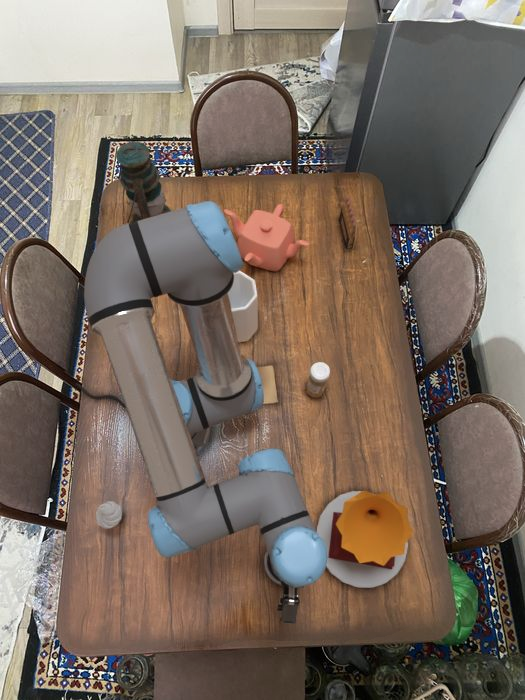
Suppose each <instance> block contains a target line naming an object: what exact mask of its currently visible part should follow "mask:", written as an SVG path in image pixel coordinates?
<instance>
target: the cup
mask: <svg viewBox="0 0 525 700" xmlns="http://www.w3.org/2000/svg"><path fill="white" fill-rule="evenodd" d="M233 274H234V282H233V285H232V288H231V289H230V291H229V292H228V295H229V300H230V305H231V310H232V314H233V319H234V324H235V329H236V334H237V339H238V343H244V342H249V341H250V339H252V337H253V336H254V335H255V333H256V332H257V331H258V329H259V317H258V316H259V314H258V311H259V310H258V304H259V303H258V289H257V284H256V280H255V279H254V278H252V277H251V276H250V275H248V274H246V273H244V272H242V271H241V270H238V272H237V273H233Z"/></svg>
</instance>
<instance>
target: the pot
mask: <svg viewBox="0 0 525 700" xmlns="http://www.w3.org/2000/svg"><path fill="white" fill-rule="evenodd" d="M284 209H285V206H284V204H282V203H278V204H277V205H276V206H275V208H274V210H273V212H272V213H271V212H267V211H265V210H261V209H255V210H254V211H252V213H251V214H250V216H249V217H248V219H247V221H246V222H245V223H244V222H243V221H241V220H240V218H239V216H238V215H237V214H236V213H235V212H234V211H232V210H231V209H228V208H225V209H223V212H224V213H225V214H226V215H227V216H228V217H229V219H230V220H231V223H232V228H233V232H234V234H235V235H236V236H237V238H238V239H237V242H236V245H237V247H238V250H239V252H240V255H241V258H242V260H243V261H245V262H247V263H248V264H249V265H251V266H253V267H257V268H261V269H264V270H266V271H269V272H270V271H271V272H279V271H280V270H281V269H282V268H283V266H284V265H285V263H286V262H287V260H288V259H291V258H293V257H295V256H297V254H298V253H299V251H300V249H301V247H304V246H306V247H307V246H309V245H310V242H309V241H307V240H304V239H298V240H296V236H295V235H296V234H295V231H294V228H293V226H292V223H290V221H288V220H287V219H284V218H283V215H284Z"/></svg>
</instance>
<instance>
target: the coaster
mask: <svg viewBox="0 0 525 700" xmlns="http://www.w3.org/2000/svg"><path fill="white" fill-rule="evenodd" d="M256 367H257V369H258V372H259V374H260V378H261V382H262V387H263V392H264V401H263V405H269V404H270V405H271V404H277V403H279V399H278V393H277V386H276V378H275V370H274V365H273V364H272V365H266V366H265V365H263V366H256Z"/></svg>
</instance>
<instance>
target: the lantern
mask: <svg viewBox="0 0 525 700" xmlns="http://www.w3.org/2000/svg"><path fill="white" fill-rule="evenodd" d="M115 154H116V155H115V158H116V160H117V163H119V164H120V179H119V182H120V185H121V186H122V187H123V190H122V212H121V213H122V225H124V224H125V217H124V212H125V195H126V196H127V199H128V203H127V206H128V207H129V208H131V209H130V212H129V216H128V219H127V222H126V224H127V223H130V220H131V216H132V215H133V216H132V223H133V222H136V221H139V220H143V219H146V218H150V217H153V216H157V215H160V214H164V213H167V212H171V211H172V210H171V209H170V207H169V206H168V205H167V204H166V202H167V199H166V195H165V193H164V190H163V189H162V184H161V182H160V179H161V176H160V172H159V169H158V168H157V167H156V165H155V164H154V163H153V162H152V159H151V157H150V155H151V151H150V149H149V147H148V146H147V145H146V144H145V143H143V142H140V141H129V142H126V143H124V144H122V145H121V146H119V147H118V148H117V150H116V153H115ZM132 213H133V214H132Z"/></svg>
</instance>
